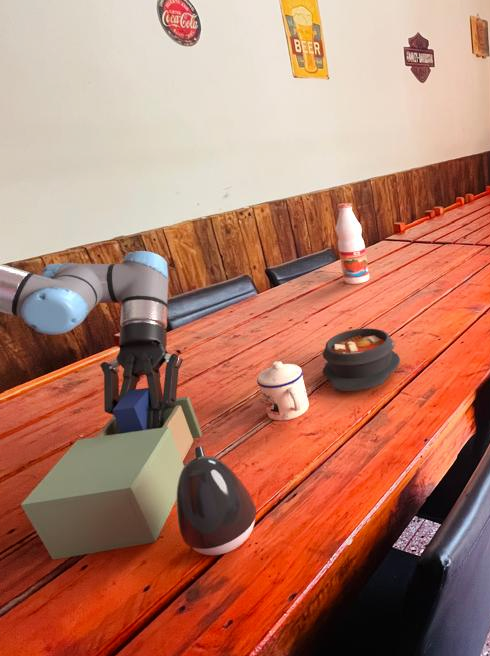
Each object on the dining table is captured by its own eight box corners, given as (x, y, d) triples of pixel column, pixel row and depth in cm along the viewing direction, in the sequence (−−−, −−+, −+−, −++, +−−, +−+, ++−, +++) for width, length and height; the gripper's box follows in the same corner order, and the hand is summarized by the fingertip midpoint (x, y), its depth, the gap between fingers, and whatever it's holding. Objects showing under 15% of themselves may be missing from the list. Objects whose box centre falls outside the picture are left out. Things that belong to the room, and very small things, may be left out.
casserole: (401, 392, 115) (396, 359, 111) (317, 402, 113) (309, 369, 109) (400, 345, 137) (397, 317, 134) (330, 353, 135) (324, 324, 132)
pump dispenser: (257, 506, 84) (233, 430, 78) (266, 548, 76) (240, 467, 69) (189, 530, 80) (157, 452, 73) (190, 578, 72) (154, 495, 65)
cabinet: (101, 489, 90) (77, 439, 85) (188, 476, 92) (168, 426, 87) (52, 559, 76) (20, 504, 71) (155, 542, 78) (130, 487, 73)
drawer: (140, 432, 104) (125, 394, 100) (208, 422, 106) (195, 385, 102) (96, 494, 88) (76, 452, 84) (178, 481, 90) (161, 440, 86)
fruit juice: (366, 274, 197) (354, 200, 184) (372, 281, 189) (361, 204, 177) (341, 279, 193) (328, 203, 181) (347, 286, 185) (333, 207, 173)
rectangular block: (135, 464, 92) (112, 410, 87) (150, 441, 98) (129, 389, 93) (156, 460, 93) (134, 407, 88) (169, 438, 99) (150, 387, 94)
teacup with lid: (260, 410, 111) (246, 363, 106) (300, 394, 116) (289, 349, 111) (281, 433, 103) (268, 383, 98) (323, 415, 108) (312, 366, 103)
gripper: (197, 330, 103) (197, 445, 95) (108, 340, 100) (100, 459, 93) (181, 315, 96) (179, 439, 88) (84, 326, 93) (74, 453, 86)
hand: (139, 449), depth 91 cm, fingers closed on rectangular block, 3 cm apart
